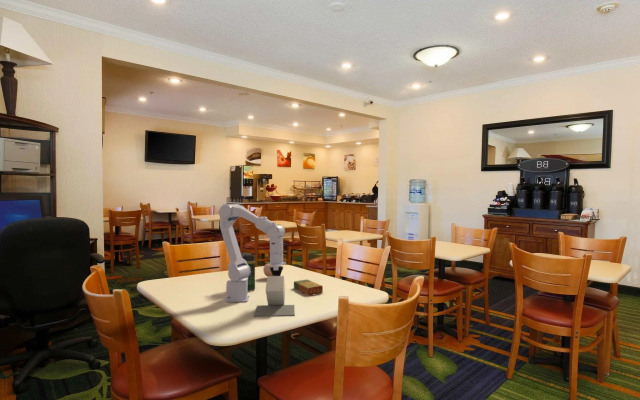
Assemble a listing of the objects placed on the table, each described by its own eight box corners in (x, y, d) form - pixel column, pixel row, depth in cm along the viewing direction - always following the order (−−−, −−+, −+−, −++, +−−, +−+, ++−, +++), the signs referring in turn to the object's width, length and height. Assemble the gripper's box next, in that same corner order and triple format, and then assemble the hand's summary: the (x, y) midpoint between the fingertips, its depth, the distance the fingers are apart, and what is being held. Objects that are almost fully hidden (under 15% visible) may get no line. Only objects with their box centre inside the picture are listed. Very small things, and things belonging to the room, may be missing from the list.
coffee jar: (257, 290, 181) (257, 253, 181) (241, 292, 177) (241, 254, 177) (251, 286, 190) (251, 251, 189) (236, 288, 186) (236, 252, 186)
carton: (308, 296, 173) (307, 287, 173) (293, 288, 187) (293, 280, 187) (322, 294, 177) (322, 285, 177) (307, 286, 191) (307, 278, 191)
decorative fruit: (260, 279, 205) (260, 261, 205) (267, 276, 213) (267, 259, 213) (274, 281, 202) (274, 263, 202) (281, 277, 209) (281, 260, 209)
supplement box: (285, 290, 162) (284, 275, 153) (284, 305, 157) (283, 291, 148) (268, 290, 162) (267, 275, 153) (267, 305, 157) (265, 291, 148)
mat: (254, 316, 143) (254, 315, 143) (257, 306, 156) (257, 305, 156) (294, 315, 144) (294, 314, 144) (294, 305, 157) (294, 304, 157)
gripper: (285, 255, 151) (285, 287, 151) (285, 250, 166) (286, 279, 166) (268, 255, 151) (268, 287, 151) (270, 250, 165) (270, 279, 165)
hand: (276, 283), depth 158 cm, fingers closed, pressing on supplement box
